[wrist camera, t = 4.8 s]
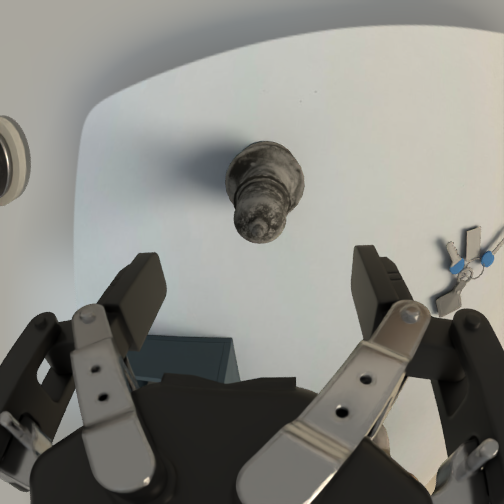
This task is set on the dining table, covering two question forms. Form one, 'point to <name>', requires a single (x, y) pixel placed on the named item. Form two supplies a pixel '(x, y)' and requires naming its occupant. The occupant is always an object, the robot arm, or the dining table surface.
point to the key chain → (464, 269)
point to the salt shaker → (263, 190)
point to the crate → (184, 359)
